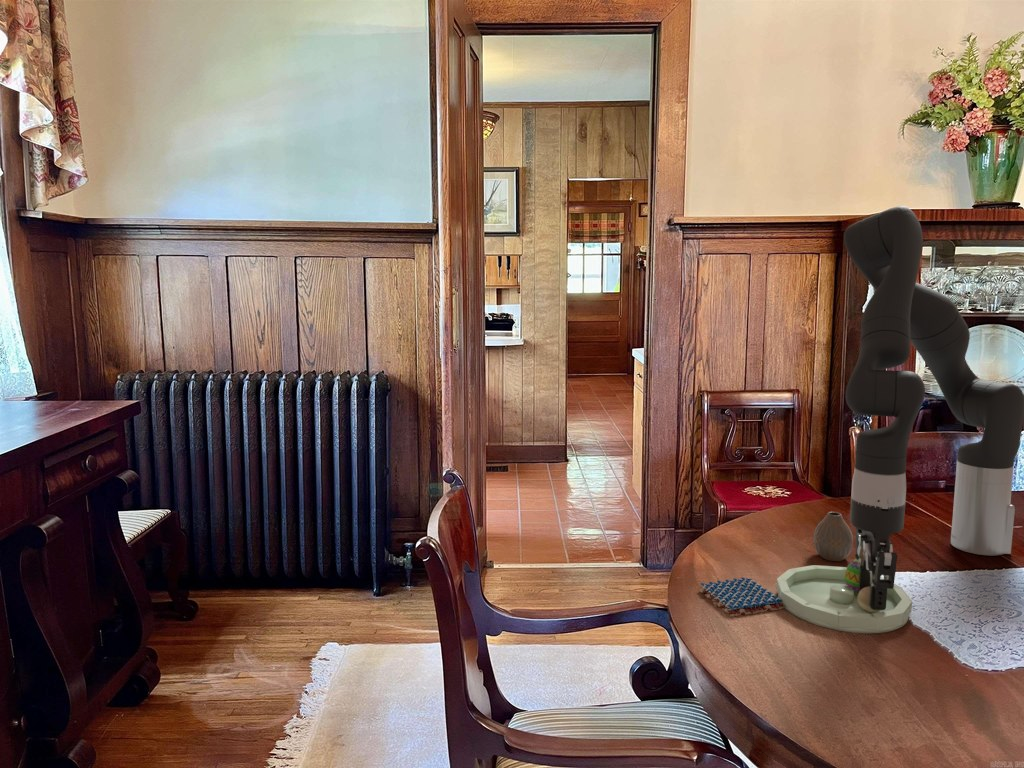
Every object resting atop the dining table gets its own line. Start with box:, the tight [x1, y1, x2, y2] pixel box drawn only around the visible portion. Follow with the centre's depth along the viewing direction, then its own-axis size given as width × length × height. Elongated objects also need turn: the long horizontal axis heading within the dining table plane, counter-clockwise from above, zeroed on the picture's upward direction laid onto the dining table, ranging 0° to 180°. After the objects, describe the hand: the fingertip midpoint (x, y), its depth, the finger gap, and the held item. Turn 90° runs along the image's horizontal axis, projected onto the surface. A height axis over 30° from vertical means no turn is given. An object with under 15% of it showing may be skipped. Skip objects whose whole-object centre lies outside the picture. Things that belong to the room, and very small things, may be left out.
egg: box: [845, 558, 860, 595], centre depth 121 cm, size 5×5×6 cm
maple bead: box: [858, 586, 881, 613], centre depth 114 cm, size 4×4×4 cm
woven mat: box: [699, 576, 785, 617], centre depth 121 cm, size 10×11×2 cm
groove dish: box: [776, 564, 913, 634], centre depth 119 cm, size 20×20×3 cm
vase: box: [813, 511, 854, 562], centre depth 138 cm, size 7×7×9 cm
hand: (871, 599), depth 114 cm, fingers open, 6 cm apart
